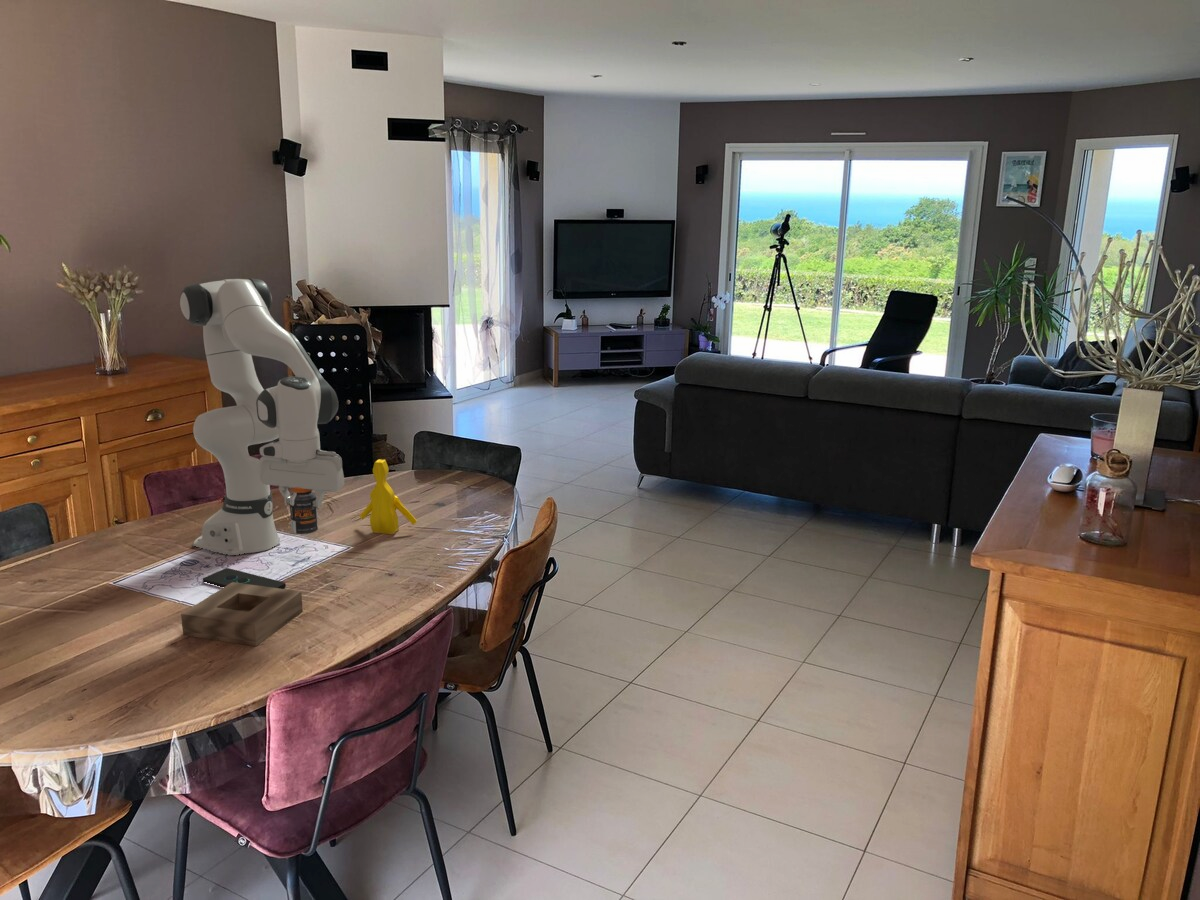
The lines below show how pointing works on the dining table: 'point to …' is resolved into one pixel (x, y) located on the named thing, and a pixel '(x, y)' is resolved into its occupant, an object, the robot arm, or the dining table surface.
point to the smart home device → (241, 579)
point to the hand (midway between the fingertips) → (303, 505)
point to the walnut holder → (242, 613)
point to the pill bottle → (303, 511)
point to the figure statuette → (384, 503)
